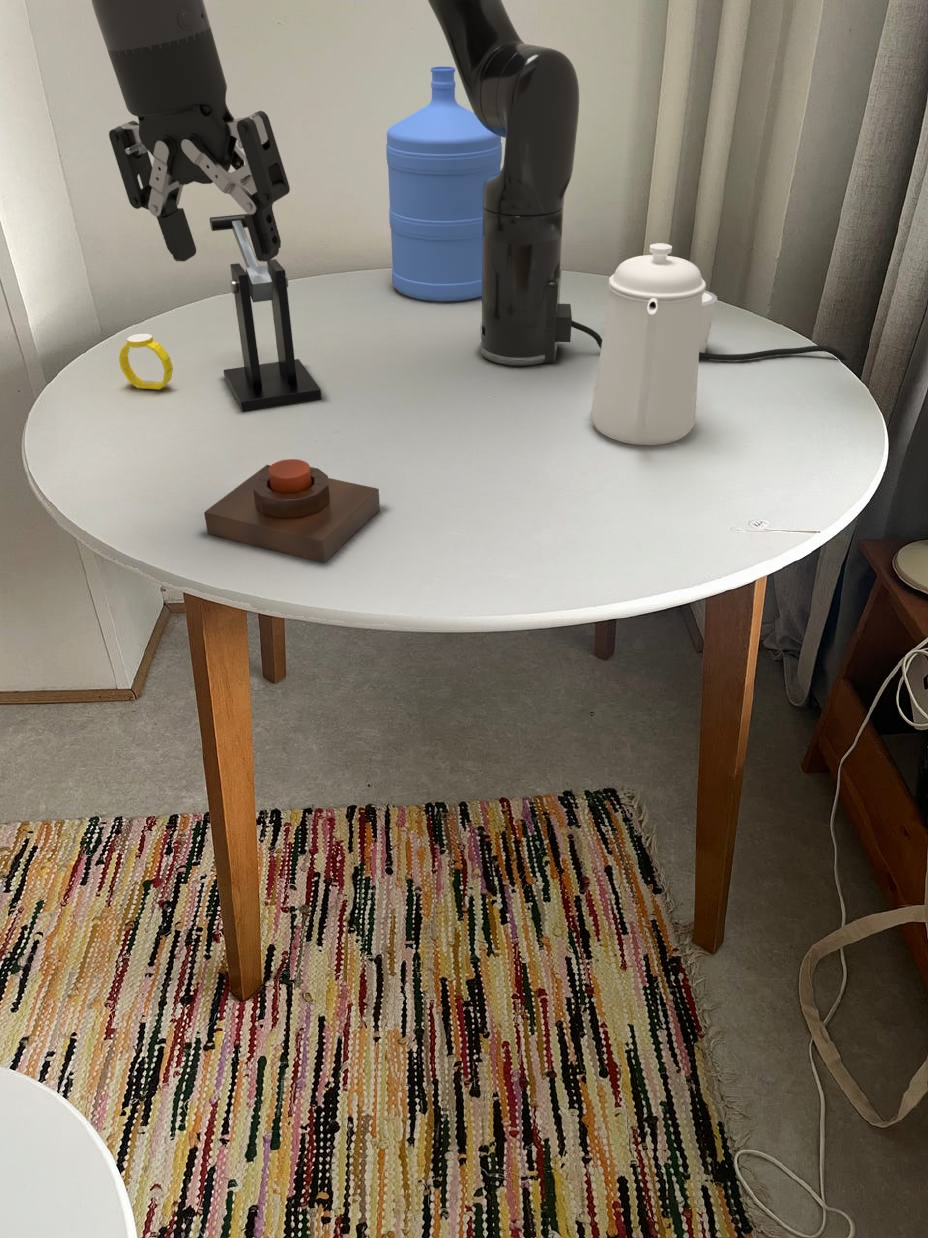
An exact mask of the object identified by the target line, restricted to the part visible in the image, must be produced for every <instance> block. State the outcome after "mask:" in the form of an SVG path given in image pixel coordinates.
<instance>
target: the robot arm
mask: <svg viewBox="0 0 928 1238" xmlns="http://www.w3.org/2000/svg"><path fill="white" fill-rule="evenodd" d="M427 2H428V4H429V6H430V8H431V10H432V12H433V13H434V16H435V18H436V19H437V22H438V25H439V26H440V28H441V31H442V34H443V35H444V38H445V41H446V43H447V46H448V48H449V51H450V54H451V56H452V59H453V61H454V65H455V68H456V71H457V73H458V76H459V78H460V81H461V84H462V86H463V89H464V92H465V94H466V97H467V100H468V102H469V105H470V107H471V109H472V112H473V113H475V115H476V117H477V119H478V120H479V121H480V122H481V124H482V125H483V126H484V127H485V128H486V129H488V130H489V131H491V132H492V133H494V134H496V135H498V136H501V138H505V143H504V155H503V157H504V158H503V164H502V167H501V171H500V172H499V173H497V174H494V175H492V176H490V177H488V178H487V179H486V181H485V182H484V185H483V215H482V296H481V326H480V329H479V331H480V333H479V334H480V340H481V342H480V354H481V355H482V357H483V358H485V359H486V360H488V361H491V362H494V363H496V364H501V365H507V366H517V367H518V366H521V367H522V366H534V365H539V364H544V363H551V364H552V363H555V360H556V356H557V353H558V343H571V339H572V328H574V329H576V330H578V331H581V332H583V333H586V334H587V335H589V336H591V337H592V338H593V339H594V340H595V342H596V343H597V345H598V347H599V349H600V350H601V345H602V339H603V337H601V335H600V334H599V333H598V332H597V331H595V330H593V329H592V328H591V327H588V326H587V325H584V324H582V323H579V322H577V321H574V320H573V315H572V305H571V303H561V302H560V301H561V284H562V283H561V282H562V270H561V262H562V261H561V259H562V242H563V241H562V240H563V221H564V204H565V195H566V192H567V189H568V187H569V184H570V182H571V179H572V175H573V170H574V163H575V154H576V153H575V152H576V143H577V133H578V124H579V112H580V86H579V79H578V75H577V71H576V68H575V66H574V64H573V63H572V61H571V60H570V58H568V56H567V55H566V54H564V52H561V51H559V50H557V49H554V48H549V47H547V46H540V45H535V44H528V43H525V42H524V41H523V40H522V39H521V37H520V35H519V34H518V32H517V30H516V28H515V27H514V24H513V22H512V20H511V19H510V16H509V14H508V12H507V10H506V7H505V6H504V3H503V1H502V0H427ZM91 4H92V8H93V11H94V14H95V18H96V21H97V23H98V27H99V29H100V32H101V35H102V38H103V42H104V44H105V47H106V50H107V53H108V57H109V59H110V62H111V66H112V69H113V71H114V74H115V77H116V80H117V84H118V85H119V89H120V93H121V95H122V98H123V101H124V103H125V107H126V109H127V111H128V112H129V113H130V114H131V115H132V116H135V117H137V120H138V122H137V121H136V120H131V121H128V122H125V123H122V124H121V125H118V126H116V127H115V128H112V129H110V130H109V131H108V137H109V141H110V143H111V147H112V151H113V154H114V157H115V160H116V164H117V166H118V171H119V174H120V177H121V180H122V183H123V186H124V189H125V193H126V195H127V199H128V202H129V204H130V206H131V207H132V208H134V209H135V210H139V209H141V208H143V209H146V210H148V211H149V212H150V214H151V215H153V216H154V217H156V219H157V222H158V225H159V229H160V231H161V234H162V236H163V240H164V243H165V246H166V249H167V250H168V252H169V253H170V254H171V255H172V258H173V259H174V261H175V262H187V261H188V260H190V259H191V258H193V257H194V256H196V254H197V247H196V243H195V241H194V237H193V234H192V231H191V228H190V225H189V222H188V219H187V216H186V213H185V210H184V207H178V206H179V205H180V201H181V196H182V192H183V189H184V186H187V185H189V184H192V183H198V184H201V185H210V184H214V185H215V186H216V187H217V188H218V190H219V191H221V192H222V193H224V194H226V195H229V196H231V198H233V199H234V201H235V202H236V203H237V204H238V205H239V206H240V208H242V210H243V211H244V212H245V214H246V215H244V217H245V220H246V224H247V227H248V228H247V230H248V234H249V238H250V241H251V244H252V247H253V248H252V249H253V252H254V255H255V258H256V260H257V262H262V263H263V262H266V263H267V261H269V260H272V259H275V257H277V256H278V255H279V252H280V249H281V246H282V245H281V243H282V239H281V236H280V232H279V229H278V225H277V222H276V219H275V214H274V211H273V205H274V203H275V202H277V201H279V200H281V199H282V198H283V197H285V196H287V195H288V194H289V193H290V190H291V187H290V184H289V181H288V176H287V174H286V170H285V168H284V164H283V161H282V160H283V159H282V158H281V154H280V150H279V148H278V144H277V140H276V138H275V134H274V131H273V128H272V124H271V121H270V118H269V116H268V114H267V113H266V112H265V111H263V110H259V111H256V112H254V113H252V114H250V115H248V116H245V117H239V118H235V117H234V116H233V115H232V113H231V112H230V109H229V108H228V105H227V99H226V97H227V89H228V84H227V81H226V78H225V73H224V70H223V67H222V63H221V59H220V56H219V52H218V49H217V45H216V42H215V37H214V34H213V31H212V28H211V27H212V26H211V23H210V19H209V16H208V13H207V9H206V6H205V1H204V0H91ZM242 149H243V152H244V153H243V152H242ZM149 153H150V154H151V155H152V157H153V158H154V159H153V163H152V162H151V158H150V154H149ZM231 167H232V168H233V169H234V171H232V172H230V169H231ZM139 179H140V182H139ZM140 183H141V185H140ZM141 186H142V188H141ZM814 352H815V353H816V352H824V353H829V354H832V355H833V356H835V357H836V358H838V359H839V360H841V361H848V358H847V356H846V355H845V354H844V353H843V352H842V351H841V350H840V349H838V348H836V347H833V346H830V345H823V344H821V345H819V344H817V345H809V346H802V347H792V348H791V347H790V348H789V347H788V348H775V349H768V350H767V349H766V350H760V351H756V352H747V353H733V354H731V353H729V354H728V353H727V354H725V353H712V352H711V353H709V352H705V353H701V352H699V360H711V361H746V360H754V359H760V358H767V357H773V356H782V355H783V356H784V355H786V356H787V355H799V354H807V353H814Z"/></svg>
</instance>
